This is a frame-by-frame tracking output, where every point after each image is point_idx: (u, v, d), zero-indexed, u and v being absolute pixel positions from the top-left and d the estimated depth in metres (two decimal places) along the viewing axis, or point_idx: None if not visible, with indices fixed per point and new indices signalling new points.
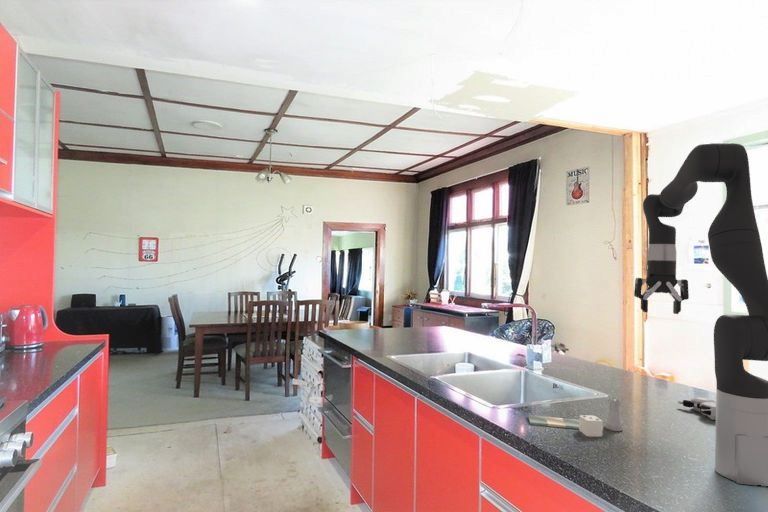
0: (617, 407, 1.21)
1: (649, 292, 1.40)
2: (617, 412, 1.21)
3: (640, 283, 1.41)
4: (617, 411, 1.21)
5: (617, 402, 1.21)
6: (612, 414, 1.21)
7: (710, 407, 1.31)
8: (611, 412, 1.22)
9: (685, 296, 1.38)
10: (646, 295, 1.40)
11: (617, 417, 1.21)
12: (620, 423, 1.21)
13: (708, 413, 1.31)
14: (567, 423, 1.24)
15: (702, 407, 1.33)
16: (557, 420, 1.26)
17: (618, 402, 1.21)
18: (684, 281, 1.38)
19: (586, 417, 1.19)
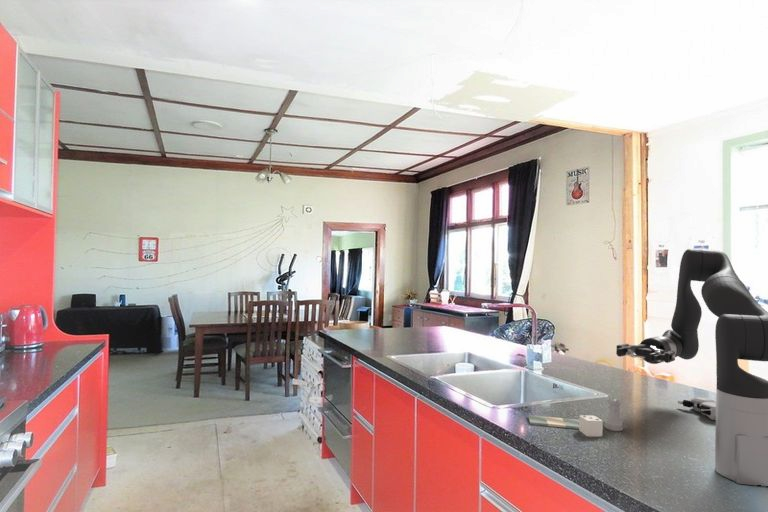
0: (617, 407, 1.21)
1: (630, 345, 1.36)
2: (617, 412, 1.21)
3: (625, 344, 1.40)
4: (617, 411, 1.21)
5: (617, 402, 1.21)
6: (612, 414, 1.21)
7: (710, 407, 1.31)
8: (611, 412, 1.22)
9: (666, 353, 1.28)
10: (626, 346, 1.36)
11: (617, 417, 1.21)
12: (620, 423, 1.21)
13: (708, 413, 1.31)
14: (567, 423, 1.24)
15: (702, 407, 1.33)
16: (557, 420, 1.26)
17: (618, 402, 1.21)
18: (671, 351, 1.31)
19: (586, 417, 1.19)
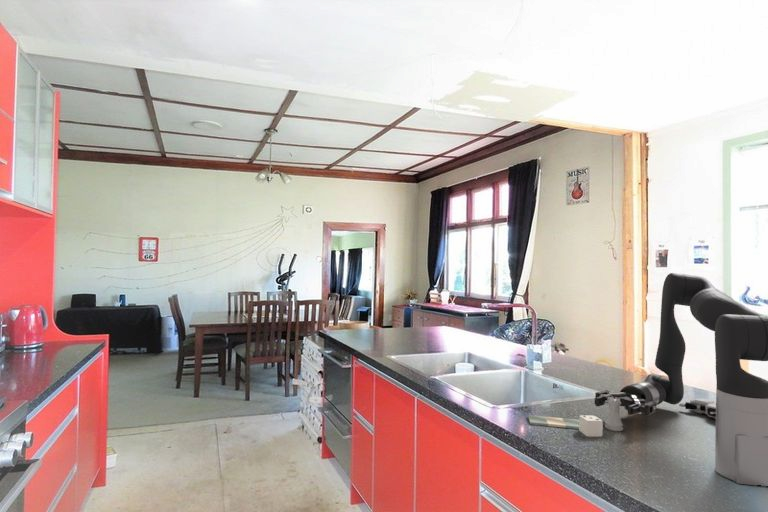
0: (617, 407, 1.21)
1: (609, 393, 1.28)
2: (617, 412, 1.21)
3: (605, 391, 1.32)
4: (617, 411, 1.21)
5: (617, 402, 1.21)
6: (612, 414, 1.21)
7: None
8: (611, 412, 1.22)
9: None
10: (605, 394, 1.28)
11: (617, 417, 1.21)
12: (620, 423, 1.21)
13: None
14: (567, 423, 1.24)
15: (710, 410, 1.31)
16: (557, 420, 1.26)
17: (618, 402, 1.21)
18: (652, 401, 1.23)
19: (586, 417, 1.19)
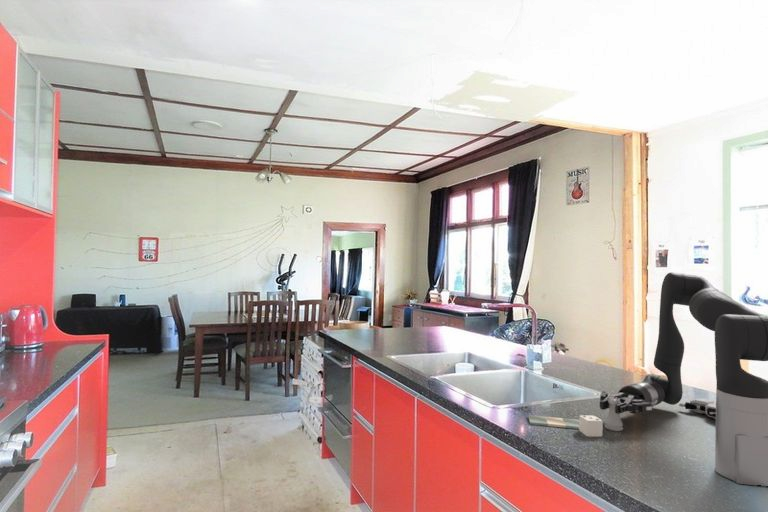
0: None
1: (612, 395, 1.26)
2: None
3: (604, 392, 1.30)
4: None
5: (617, 402, 1.21)
6: (612, 414, 1.21)
7: None
8: (611, 412, 1.22)
9: None
10: None
11: (617, 417, 1.21)
12: (620, 423, 1.21)
13: None
14: (567, 423, 1.24)
15: (710, 410, 1.31)
16: (557, 420, 1.26)
17: (618, 402, 1.21)
18: (648, 402, 1.22)
19: (586, 417, 1.19)
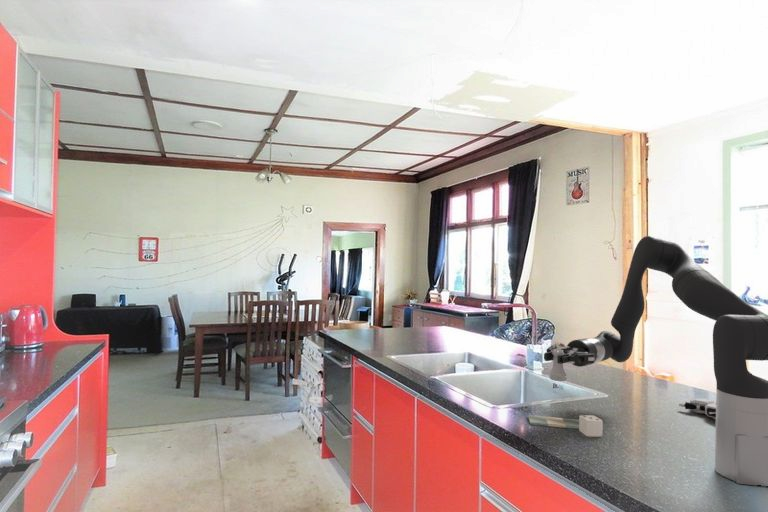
0: None
1: (557, 348, 1.30)
2: None
3: (551, 347, 1.33)
4: None
5: (560, 353, 1.24)
6: (555, 365, 1.25)
7: None
8: (555, 363, 1.25)
9: (577, 354, 1.24)
10: None
11: (560, 368, 1.24)
12: (563, 373, 1.24)
13: None
14: (567, 423, 1.24)
15: (710, 410, 1.31)
16: (557, 420, 1.26)
17: (561, 353, 1.24)
18: (591, 353, 1.25)
19: (586, 417, 1.19)
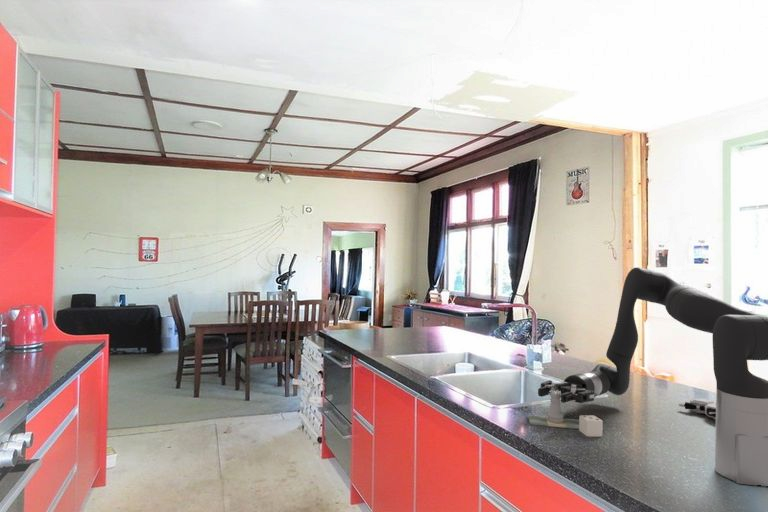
0: (558, 399, 1.24)
1: (553, 383, 1.30)
2: (558, 404, 1.24)
3: (549, 381, 1.34)
4: (558, 403, 1.24)
5: (558, 394, 1.24)
6: (553, 406, 1.25)
7: None
8: (552, 404, 1.25)
9: None
10: (549, 385, 1.30)
11: (557, 410, 1.24)
12: (560, 415, 1.24)
13: None
14: (567, 423, 1.24)
15: (710, 410, 1.31)
16: None
17: (559, 394, 1.24)
18: (590, 390, 1.25)
19: (586, 417, 1.19)
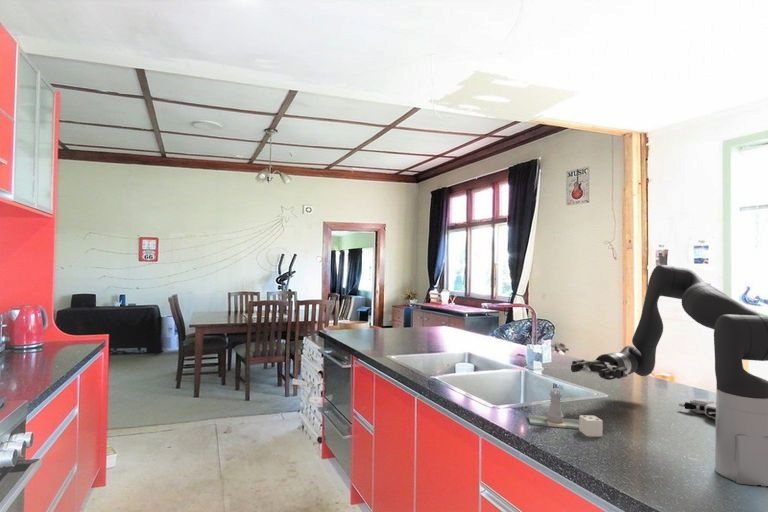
0: (558, 399, 1.24)
1: (585, 361, 1.39)
2: (558, 404, 1.24)
3: (581, 360, 1.42)
4: (558, 403, 1.24)
5: (558, 394, 1.24)
6: (553, 406, 1.25)
7: None
8: (552, 404, 1.25)
9: (617, 369, 1.31)
10: (581, 362, 1.39)
11: (557, 410, 1.24)
12: (560, 415, 1.24)
13: None
14: (567, 423, 1.24)
15: (709, 410, 1.31)
16: None
17: (559, 394, 1.24)
18: (623, 367, 1.34)
19: (586, 417, 1.19)
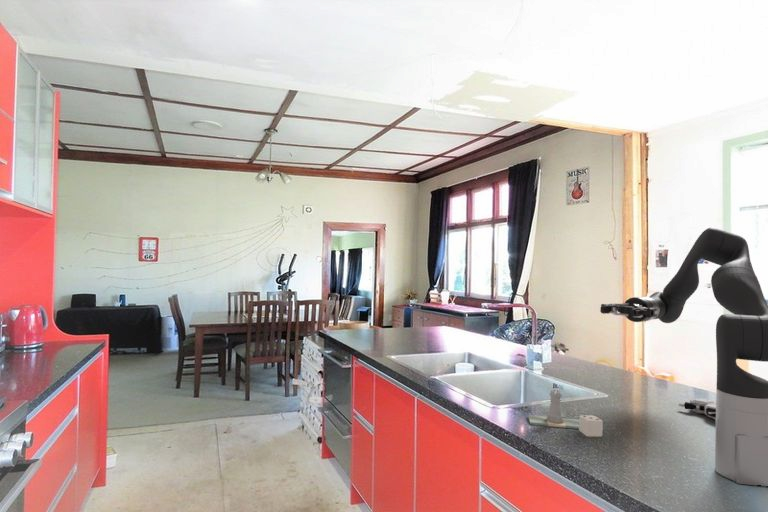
0: (558, 399, 1.24)
1: (614, 304, 1.40)
2: (558, 404, 1.24)
3: (610, 304, 1.44)
4: (558, 403, 1.24)
5: (558, 394, 1.24)
6: (553, 406, 1.25)
7: None
8: (552, 404, 1.25)
9: (648, 308, 1.32)
10: (610, 305, 1.40)
11: (557, 410, 1.24)
12: (560, 415, 1.24)
13: None
14: (567, 423, 1.24)
15: (709, 410, 1.31)
16: None
17: (559, 394, 1.24)
18: (653, 307, 1.35)
19: (586, 417, 1.19)
